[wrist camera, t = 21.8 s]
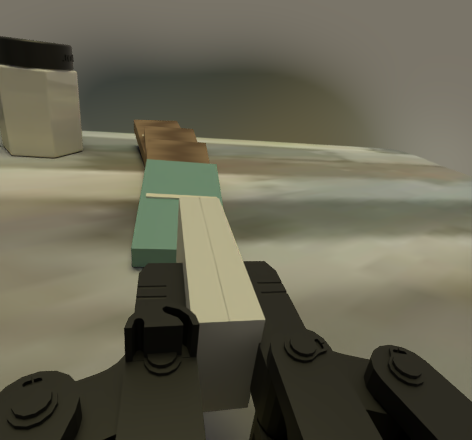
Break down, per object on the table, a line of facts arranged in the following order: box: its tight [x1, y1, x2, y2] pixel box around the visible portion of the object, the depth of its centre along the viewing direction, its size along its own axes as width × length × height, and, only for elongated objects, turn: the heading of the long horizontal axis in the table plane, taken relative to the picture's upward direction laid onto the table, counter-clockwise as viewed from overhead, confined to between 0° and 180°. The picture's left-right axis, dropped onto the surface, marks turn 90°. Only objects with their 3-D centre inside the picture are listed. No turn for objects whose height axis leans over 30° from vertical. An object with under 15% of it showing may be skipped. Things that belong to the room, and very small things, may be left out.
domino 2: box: [144, 126, 197, 161], centre depth 37 cm, size 6×2×11 cm
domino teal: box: [131, 159, 223, 267], centre depth 25 cm, size 6×2×11 cm
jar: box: [0, 36, 83, 158], centre depth 38 cm, size 9×8×12 cm
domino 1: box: [134, 120, 180, 167], centre depth 43 cm, size 6×2×11 cm
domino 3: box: [147, 139, 210, 164], centre depth 31 cm, size 6×2×11 cm
